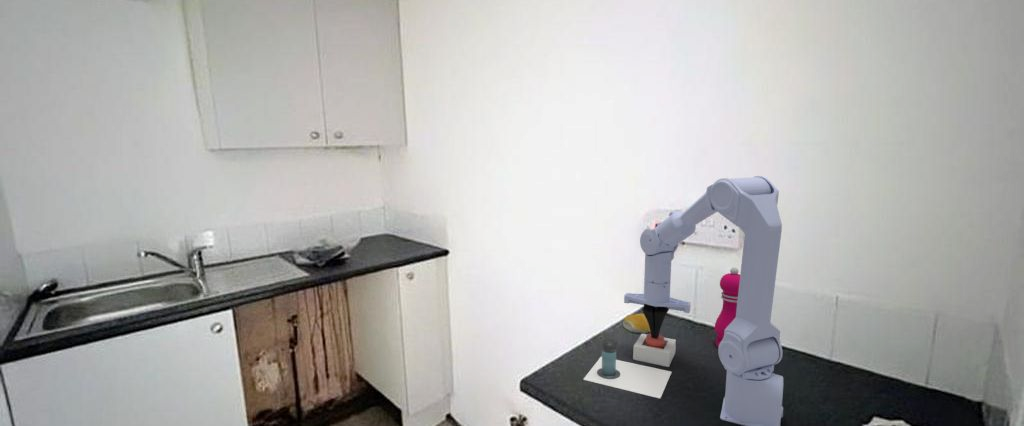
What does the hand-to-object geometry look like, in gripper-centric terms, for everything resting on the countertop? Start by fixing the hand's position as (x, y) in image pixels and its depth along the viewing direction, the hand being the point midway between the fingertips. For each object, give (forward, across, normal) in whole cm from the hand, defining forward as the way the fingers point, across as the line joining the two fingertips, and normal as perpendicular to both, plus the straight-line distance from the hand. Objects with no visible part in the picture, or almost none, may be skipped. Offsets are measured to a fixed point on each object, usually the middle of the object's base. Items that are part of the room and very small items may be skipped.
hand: (655, 336), depth 110 cm
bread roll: (+6, +7, -16) cm, 18 cm away
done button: (+3, 0, 0) cm, 3 cm away
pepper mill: (+5, -15, -14) cm, 21 cm away
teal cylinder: (+5, +7, +13) cm, 15 cm away
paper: (+5, +3, +12) cm, 13 cm away
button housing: (+5, 0, 0) cm, 5 cm away
